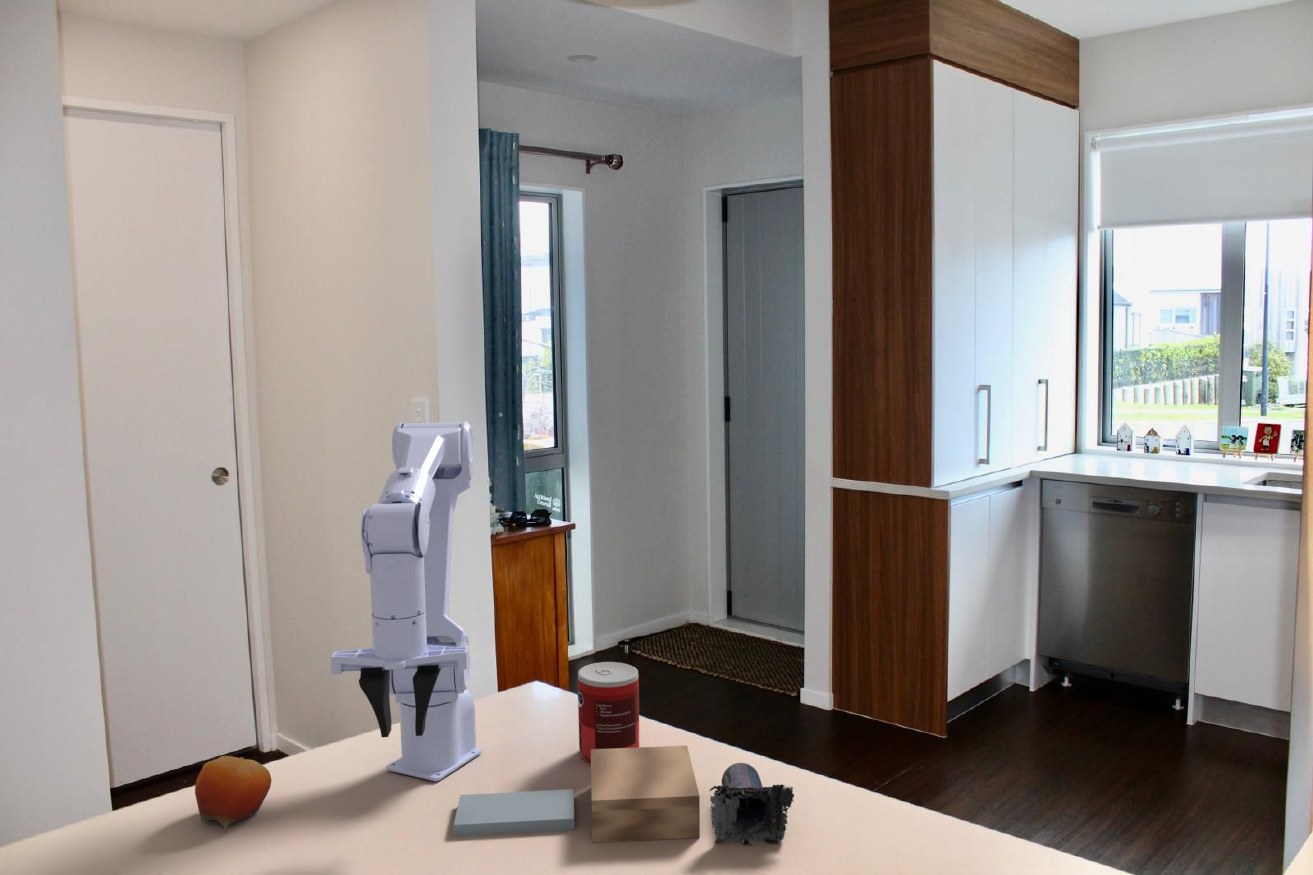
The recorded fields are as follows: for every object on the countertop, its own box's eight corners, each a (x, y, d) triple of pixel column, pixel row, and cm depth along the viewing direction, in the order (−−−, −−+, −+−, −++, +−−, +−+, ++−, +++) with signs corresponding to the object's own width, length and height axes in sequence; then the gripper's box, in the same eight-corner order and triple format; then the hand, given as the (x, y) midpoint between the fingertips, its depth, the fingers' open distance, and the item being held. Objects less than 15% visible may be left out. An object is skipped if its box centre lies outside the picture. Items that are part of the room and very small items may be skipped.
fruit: (164, 821, 110) (190, 746, 113) (213, 828, 117) (236, 757, 120) (223, 833, 107) (247, 756, 110) (270, 839, 114) (291, 766, 117)
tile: (454, 840, 109) (453, 824, 109) (460, 809, 116) (460, 795, 116) (574, 834, 110) (574, 818, 110) (573, 803, 117) (573, 789, 117)
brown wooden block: (592, 842, 107) (591, 800, 107) (591, 787, 120) (590, 749, 120) (699, 837, 108) (699, 795, 108) (687, 783, 121) (687, 745, 120)
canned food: (603, 737, 135) (602, 657, 134) (652, 751, 130) (651, 669, 129) (566, 757, 129) (564, 674, 127) (615, 773, 124) (614, 686, 123)
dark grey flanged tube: (783, 858, 106) (764, 810, 118) (797, 788, 106) (776, 746, 118) (700, 846, 106) (689, 799, 118) (713, 775, 105) (701, 735, 117)
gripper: (321, 624, 105) (327, 750, 106) (461, 620, 106) (465, 745, 107) (337, 607, 112) (342, 725, 113) (469, 603, 113) (473, 720, 114)
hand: (403, 733), depth 111 cm, fingers open, 3 cm apart
